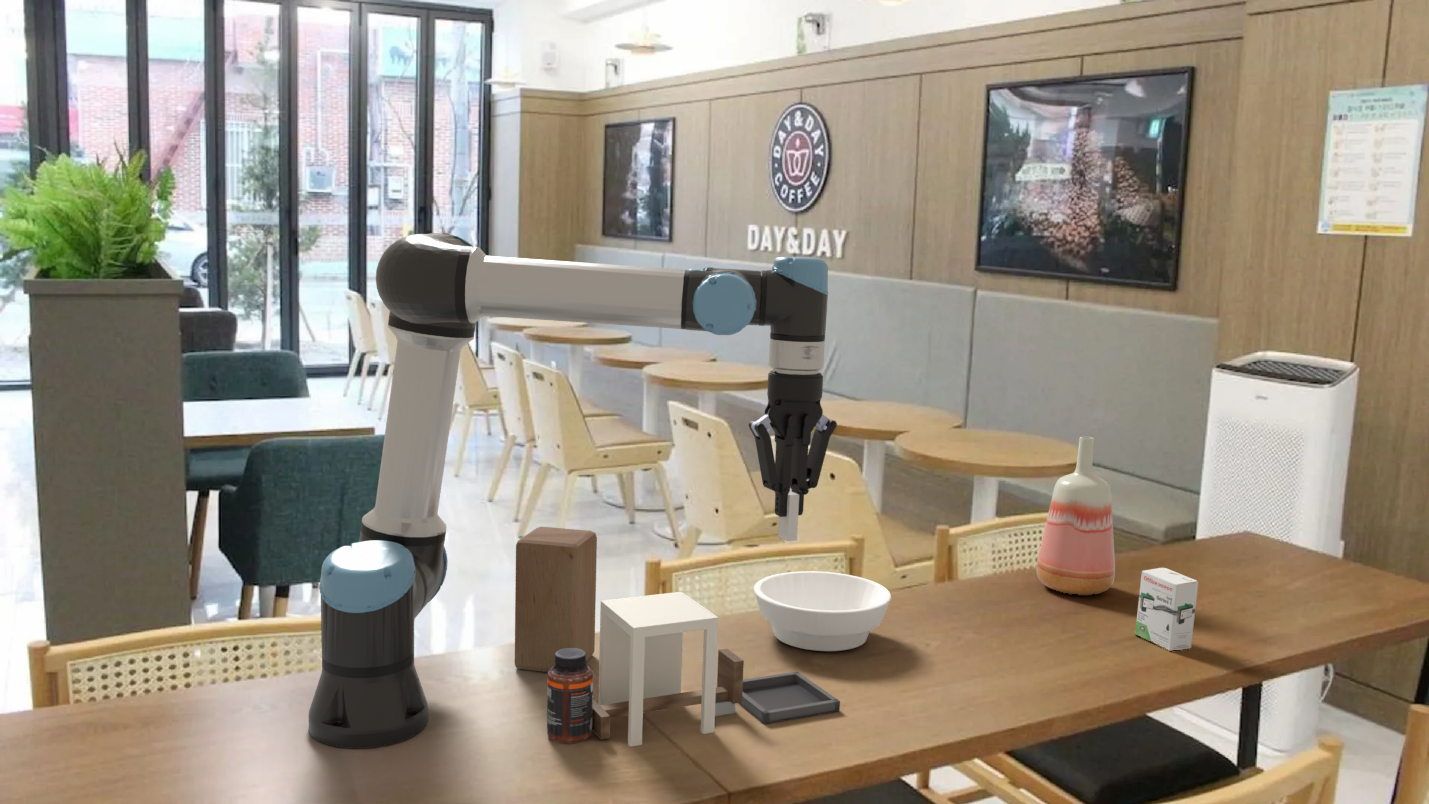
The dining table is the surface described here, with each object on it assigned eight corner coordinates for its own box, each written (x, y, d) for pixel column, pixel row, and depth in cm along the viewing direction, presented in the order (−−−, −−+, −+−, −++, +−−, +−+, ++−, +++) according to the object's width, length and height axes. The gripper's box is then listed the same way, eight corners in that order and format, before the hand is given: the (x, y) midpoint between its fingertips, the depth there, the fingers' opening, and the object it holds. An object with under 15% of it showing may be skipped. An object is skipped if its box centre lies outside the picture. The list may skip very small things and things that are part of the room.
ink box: (1133, 635, 205) (1139, 568, 203) (1155, 632, 206) (1161, 566, 205) (1170, 652, 197) (1176, 583, 195) (1193, 649, 199) (1200, 580, 197)
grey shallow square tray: (764, 724, 163) (764, 713, 162) (724, 692, 173) (725, 682, 173) (839, 711, 168) (840, 701, 168) (796, 681, 178) (797, 671, 178)
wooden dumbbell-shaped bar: (600, 739, 155) (602, 684, 154) (582, 718, 161) (583, 665, 160) (744, 715, 164) (747, 663, 163) (722, 696, 170) (724, 646, 169)
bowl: (733, 650, 191) (735, 599, 190) (775, 610, 212) (777, 564, 211) (871, 672, 183) (874, 620, 182) (901, 628, 204) (903, 581, 203)
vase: (1116, 585, 234) (1129, 435, 230) (1108, 605, 221) (1122, 447, 217) (1041, 574, 240) (1052, 428, 236) (1029, 593, 227) (1040, 439, 222)
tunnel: (630, 746, 154) (633, 627, 152) (598, 712, 165) (600, 600, 162) (750, 726, 162) (755, 612, 159) (712, 694, 172) (716, 587, 170)
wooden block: (576, 677, 177) (578, 546, 174) (512, 670, 179) (513, 540, 176) (596, 654, 187) (598, 529, 184) (535, 648, 188) (537, 524, 186)
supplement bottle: (601, 733, 158) (603, 650, 156) (574, 749, 153) (576, 664, 151) (564, 722, 161) (566, 641, 159) (537, 738, 156) (538, 654, 154)
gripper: (767, 375, 157) (758, 549, 161) (851, 373, 163) (841, 541, 167) (741, 368, 164) (733, 535, 168) (822, 366, 170) (814, 528, 173)
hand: (787, 538), depth 167 cm, fingers closed
